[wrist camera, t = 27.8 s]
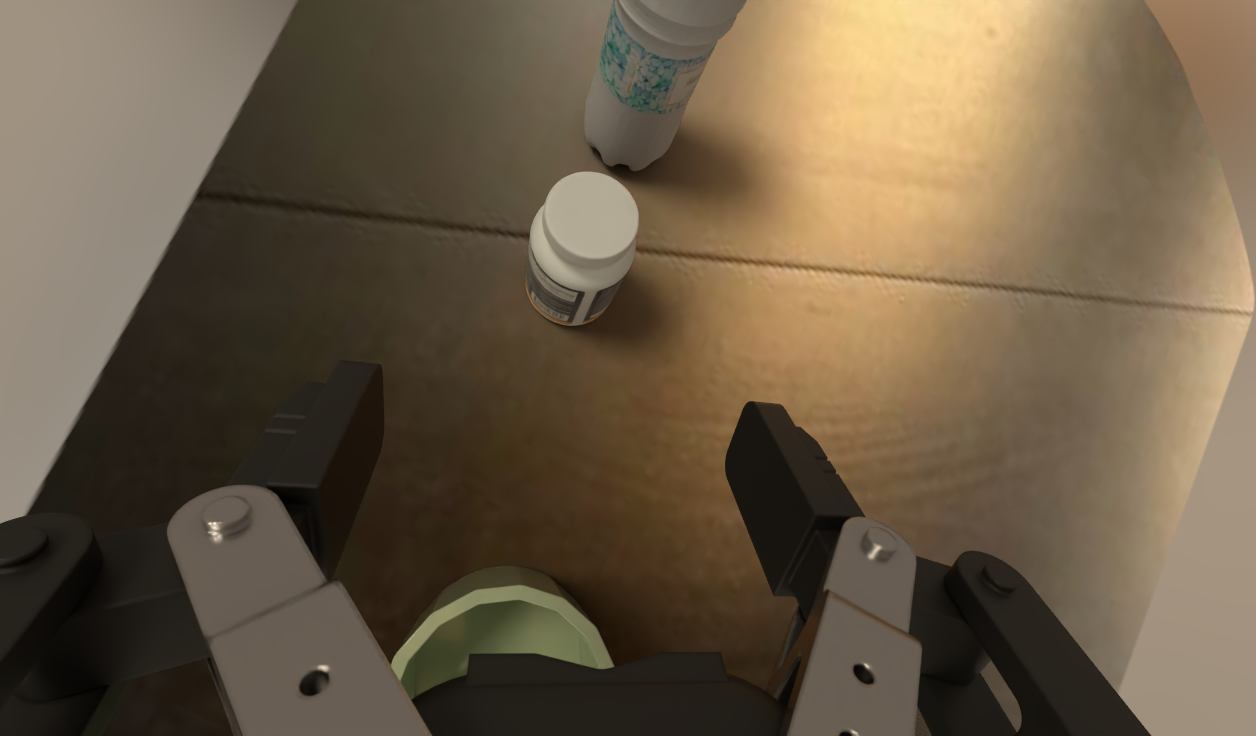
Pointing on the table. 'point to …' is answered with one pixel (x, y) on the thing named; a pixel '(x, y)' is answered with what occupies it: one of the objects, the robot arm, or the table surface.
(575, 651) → the green cup
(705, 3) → the bottle
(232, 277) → the table surface
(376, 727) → the robot arm
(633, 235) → the pill bottle
